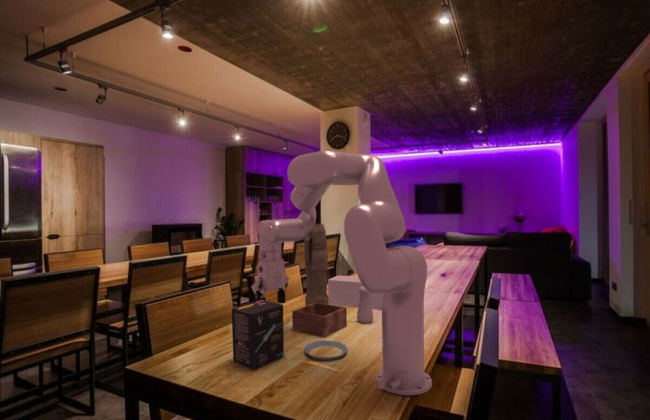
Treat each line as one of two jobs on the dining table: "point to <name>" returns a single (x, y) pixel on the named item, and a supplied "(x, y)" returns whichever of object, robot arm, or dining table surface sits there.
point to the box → (319, 319)
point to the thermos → (316, 265)
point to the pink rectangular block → (350, 292)
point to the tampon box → (257, 333)
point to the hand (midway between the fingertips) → (271, 305)
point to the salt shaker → (364, 307)
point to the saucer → (325, 343)
